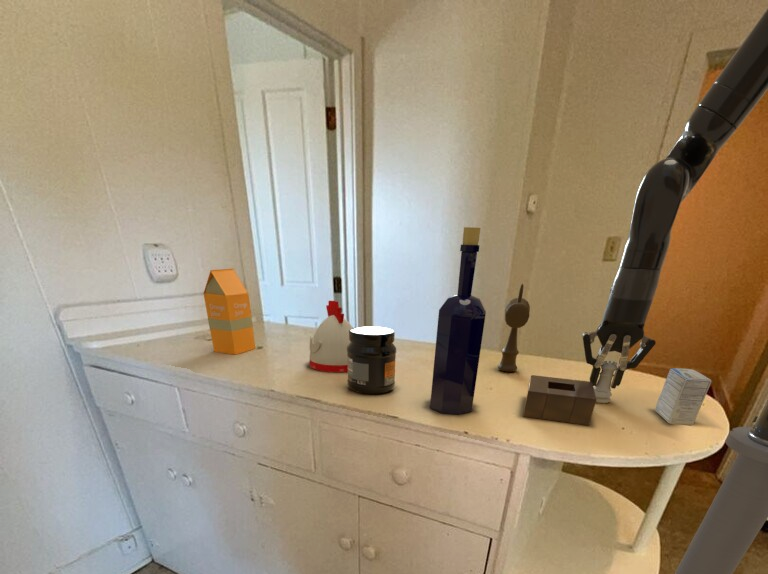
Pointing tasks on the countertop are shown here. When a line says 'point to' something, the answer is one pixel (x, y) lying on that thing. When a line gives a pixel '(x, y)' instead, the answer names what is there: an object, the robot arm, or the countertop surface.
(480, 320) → the bottle
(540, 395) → the socket block
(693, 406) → the medicine box
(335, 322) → the kitchen timer
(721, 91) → the robot arm
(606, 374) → the rook chess piece
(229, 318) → the orange juice
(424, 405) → the countertop surface
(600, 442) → the countertop surface
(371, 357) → the supplement container
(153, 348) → the countertop surface
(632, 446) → the countertop surface
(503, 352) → the kendama
